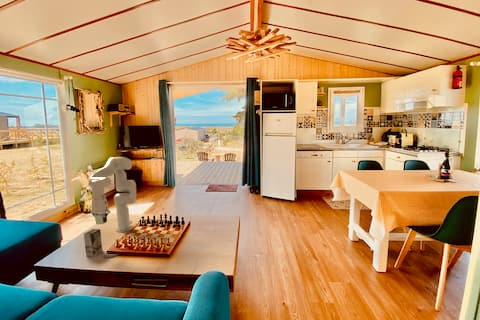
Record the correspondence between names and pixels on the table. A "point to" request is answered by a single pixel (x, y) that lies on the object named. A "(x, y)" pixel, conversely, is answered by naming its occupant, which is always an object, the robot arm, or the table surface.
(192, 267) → the table surface
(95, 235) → the coffee box
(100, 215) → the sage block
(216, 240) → the table surface
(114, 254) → the grey round disc
